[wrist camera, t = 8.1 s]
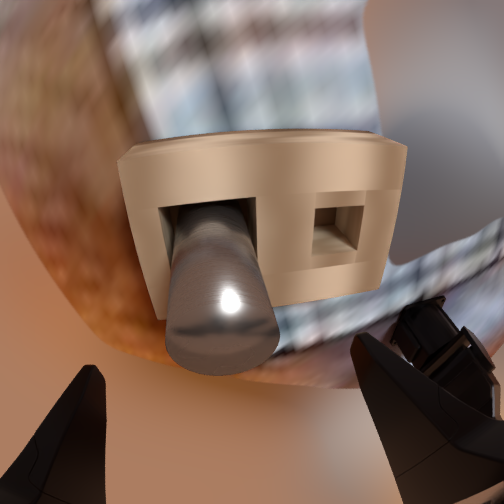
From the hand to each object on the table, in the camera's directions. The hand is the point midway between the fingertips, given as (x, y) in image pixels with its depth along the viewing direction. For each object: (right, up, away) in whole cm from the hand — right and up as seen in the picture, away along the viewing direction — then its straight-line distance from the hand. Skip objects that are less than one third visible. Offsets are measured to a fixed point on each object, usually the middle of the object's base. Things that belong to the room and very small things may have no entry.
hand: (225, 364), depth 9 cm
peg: (-2, +6, +9) cm, 11 cm away
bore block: (+2, +7, +10) cm, 12 cm away
